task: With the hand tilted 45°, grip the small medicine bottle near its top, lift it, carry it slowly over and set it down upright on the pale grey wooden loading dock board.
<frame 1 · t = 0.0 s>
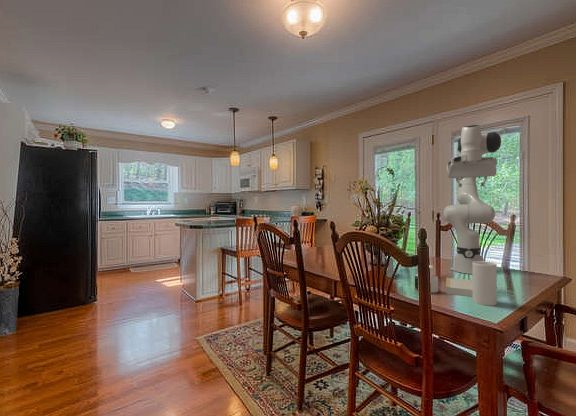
hand: (471, 186, 147), 48 cm above the table, tool pointing down, fingers open, 8 cm apart
cup: (484, 302, 123), on the table
candy bar box: (387, 276, 168), on the table
medicine bottle: (426, 291, 139), on the table
dock: (460, 290, 140), on the table
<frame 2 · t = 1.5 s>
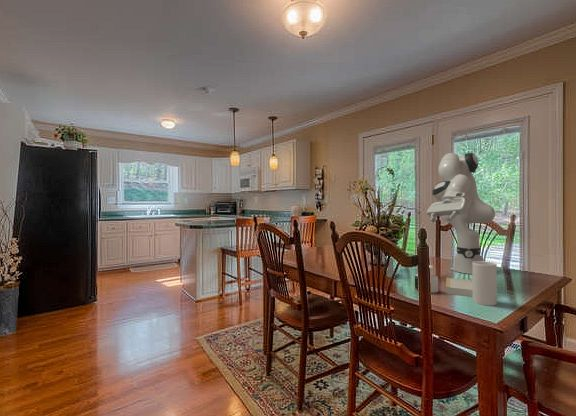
hand: (440, 220, 146), 32 cm above the table, tool tilted 45°, fingers open, 8 cm apart
nothing on the table moved.
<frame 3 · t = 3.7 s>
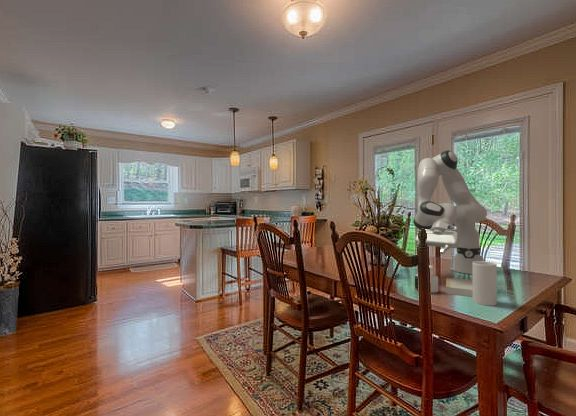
hand: (431, 252, 146), 17 cm above the table, tool tilted 45°, fingers open, 8 cm apart
nothing on the table moved.
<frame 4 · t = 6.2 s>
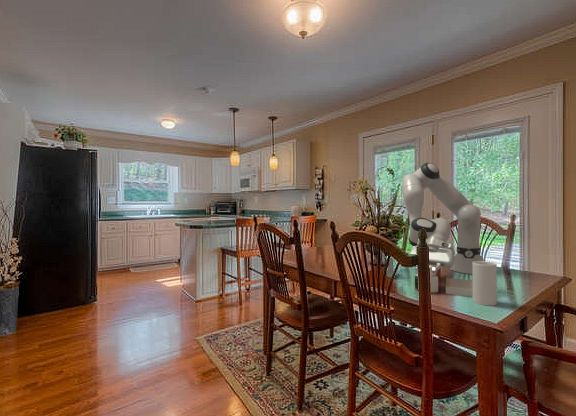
hand: (425, 270, 139), 9 cm above the table, tool tilted 45°, fingers closed on medicine bottle, 6 cm apart
medicine bottle: (426, 291, 139), on the table, touching gripper
everything else where it was.
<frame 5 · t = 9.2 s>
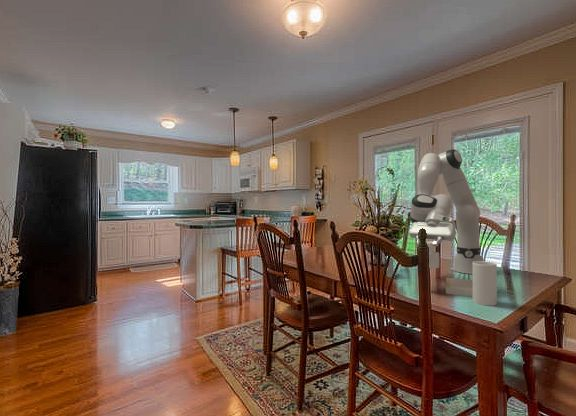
hand: (426, 245, 138), 21 cm above the table, tool tilted 45°, fingers closed on medicine bottle, 6 cm apart
medicine bottle: (427, 267, 139), point 11 cm above the table, touching gripper
everything else where it was.
when the fingers open (17 cm above the table, at t = 12.5 s): medicine bottle drops 2 cm, resting on dock.
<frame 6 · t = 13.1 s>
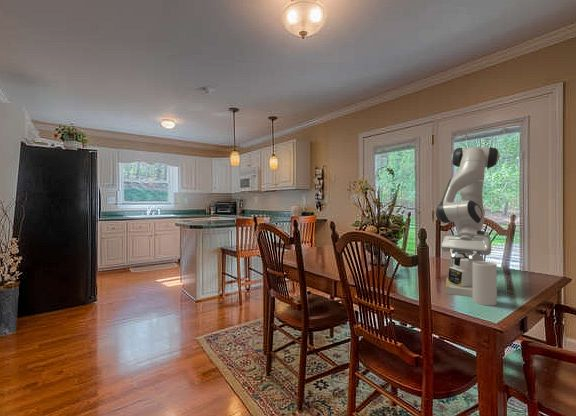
hand: (461, 259, 137), 15 cm above the table, tool tilted 45°, fingers open, 6 cm apart
medicine bottle: (460, 284, 138), point 3 cm above the table, touching dock, gripper
everything else where it was.
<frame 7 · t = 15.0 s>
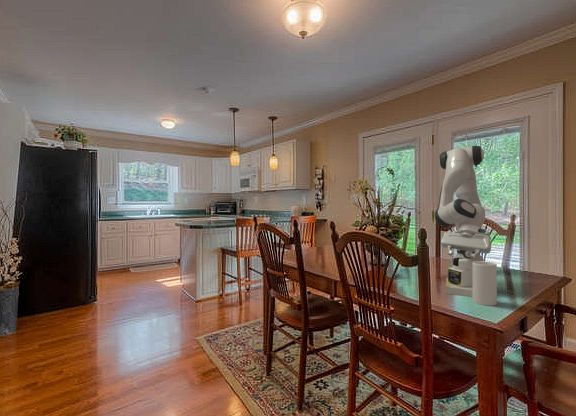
hand: (461, 256, 137), 16 cm above the table, tool tilted 45°, fingers open, 8 cm apart
medicine bottle: (460, 284, 138), point 3 cm above the table, touching dock
everything else where it was.
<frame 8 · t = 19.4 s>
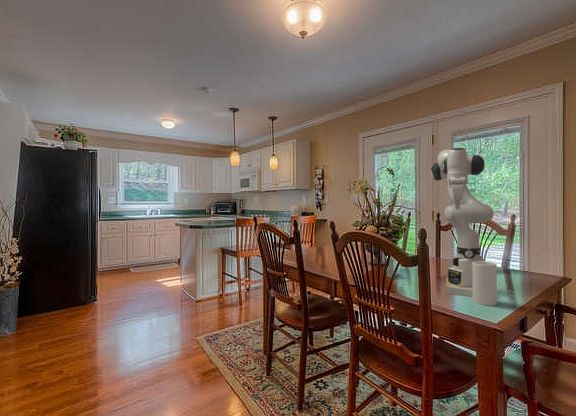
hand: (457, 209, 147), 37 cm above the table, tool pointing down, fingers open, 8 cm apart
nothing on the table moved.
at the end: medicine bottle inside the target area (0.3 cm from its centre), point 2.9 cm above the table; medicine bottle tilted 1°; the gripper is holding nothing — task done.
